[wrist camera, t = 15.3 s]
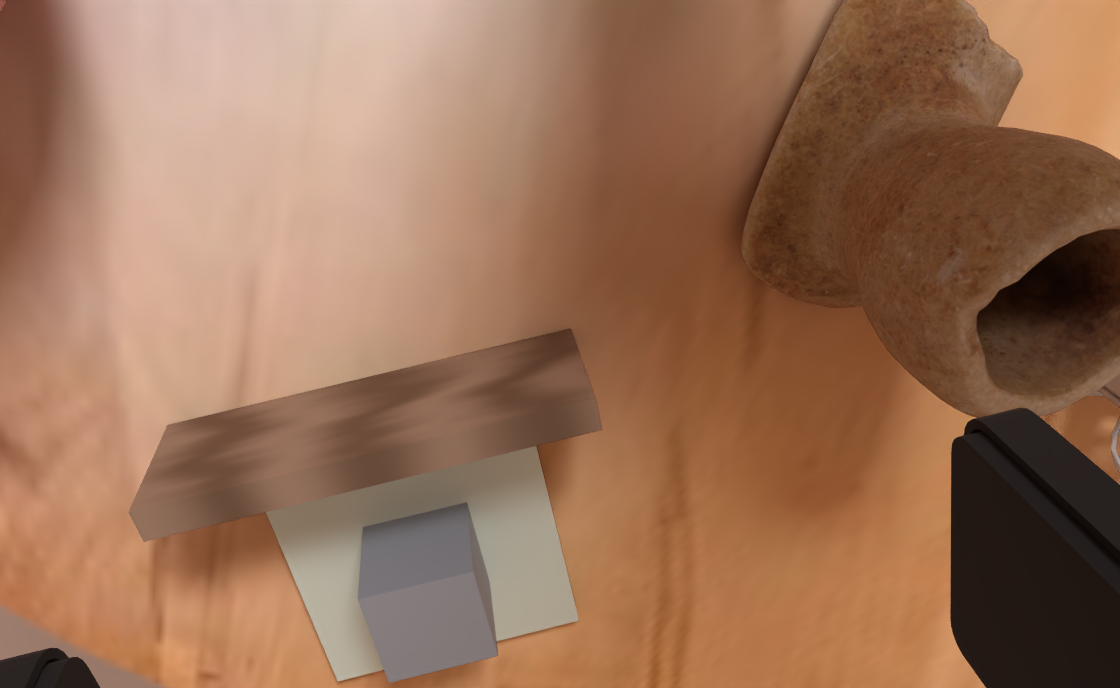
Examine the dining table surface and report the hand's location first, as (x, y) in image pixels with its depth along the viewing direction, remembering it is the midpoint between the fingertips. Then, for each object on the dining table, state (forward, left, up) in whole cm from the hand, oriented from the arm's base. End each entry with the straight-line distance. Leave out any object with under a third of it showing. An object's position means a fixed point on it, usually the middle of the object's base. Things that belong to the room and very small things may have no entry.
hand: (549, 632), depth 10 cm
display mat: (+7, +24, -33) cm, 42 cm away
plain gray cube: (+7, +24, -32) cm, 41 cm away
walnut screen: (+7, +14, -33) cm, 37 cm away
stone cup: (-19, +8, -34) cm, 39 cm away
